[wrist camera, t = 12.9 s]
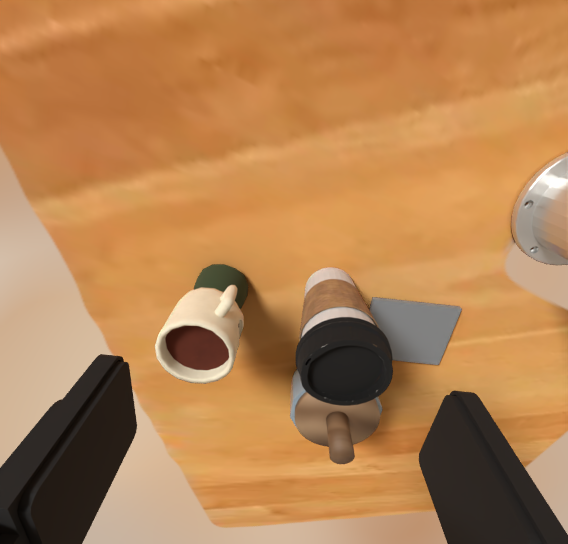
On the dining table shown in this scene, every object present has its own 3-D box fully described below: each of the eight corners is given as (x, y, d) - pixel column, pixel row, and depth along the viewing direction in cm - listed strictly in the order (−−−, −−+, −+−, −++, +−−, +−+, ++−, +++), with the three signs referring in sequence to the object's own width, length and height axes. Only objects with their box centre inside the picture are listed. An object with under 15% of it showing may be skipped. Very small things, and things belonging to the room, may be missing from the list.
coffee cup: (315, 245, 38) (328, 319, 24) (377, 275, 39) (421, 361, 26) (283, 300, 41) (278, 393, 28) (341, 326, 43) (362, 426, 29)
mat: (459, 306, 41) (461, 309, 40) (436, 361, 45) (438, 365, 44) (372, 296, 40) (373, 299, 40) (357, 353, 44) (358, 356, 44)
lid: (368, 443, 45) (378, 489, 40) (290, 436, 45) (289, 480, 39) (387, 386, 40) (401, 428, 35) (300, 377, 40) (301, 418, 35)
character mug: (226, 327, 43) (200, 407, 32) (177, 300, 42) (132, 374, 30) (272, 267, 39) (262, 333, 27) (220, 234, 37) (187, 290, 26)
